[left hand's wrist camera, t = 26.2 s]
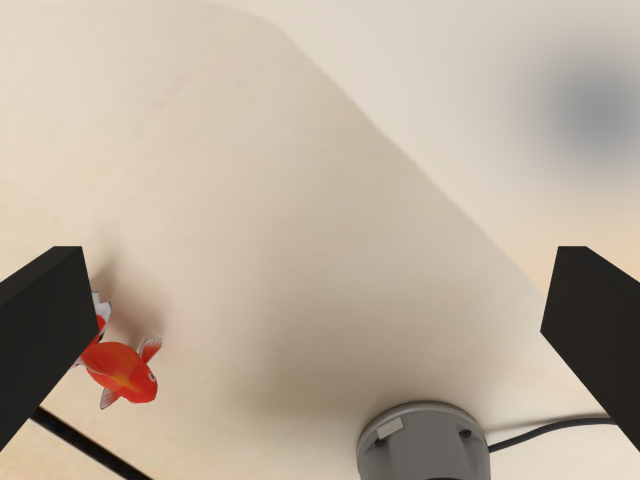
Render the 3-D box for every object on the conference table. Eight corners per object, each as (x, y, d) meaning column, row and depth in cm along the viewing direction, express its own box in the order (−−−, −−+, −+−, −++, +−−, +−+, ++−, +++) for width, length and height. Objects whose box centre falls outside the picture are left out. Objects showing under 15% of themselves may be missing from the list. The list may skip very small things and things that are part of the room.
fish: (103, 440, 46) (46, 471, 36) (30, 317, 49) (-43, 315, 39) (190, 377, 48) (157, 391, 38) (114, 260, 50) (65, 245, 40)
